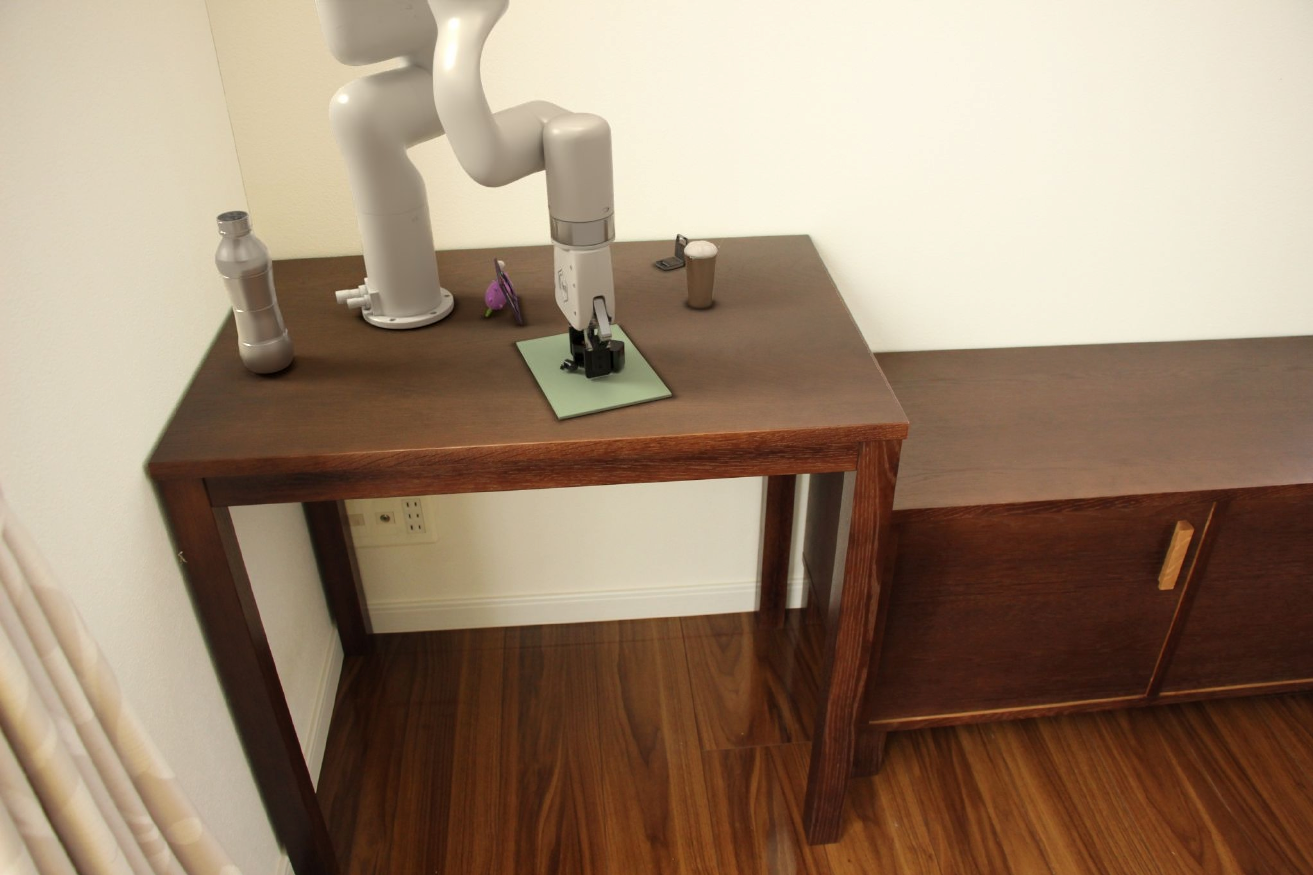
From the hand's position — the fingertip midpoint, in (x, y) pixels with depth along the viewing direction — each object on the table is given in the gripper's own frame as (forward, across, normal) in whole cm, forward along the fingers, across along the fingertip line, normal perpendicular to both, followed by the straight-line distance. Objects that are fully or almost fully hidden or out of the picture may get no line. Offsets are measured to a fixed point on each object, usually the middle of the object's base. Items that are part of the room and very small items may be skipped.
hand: (590, 363), depth 123 cm
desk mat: (+1, 0, 0) cm, 1 cm away
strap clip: (+1, -27, +24) cm, 36 cm away
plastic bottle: (+1, -16, -38) cm, 41 cm away
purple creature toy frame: (+1, -20, -6) cm, 21 cm away
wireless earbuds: (+1, 0, 0) cm, 1 cm away
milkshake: (+1, -12, +20) cm, 24 cm away
